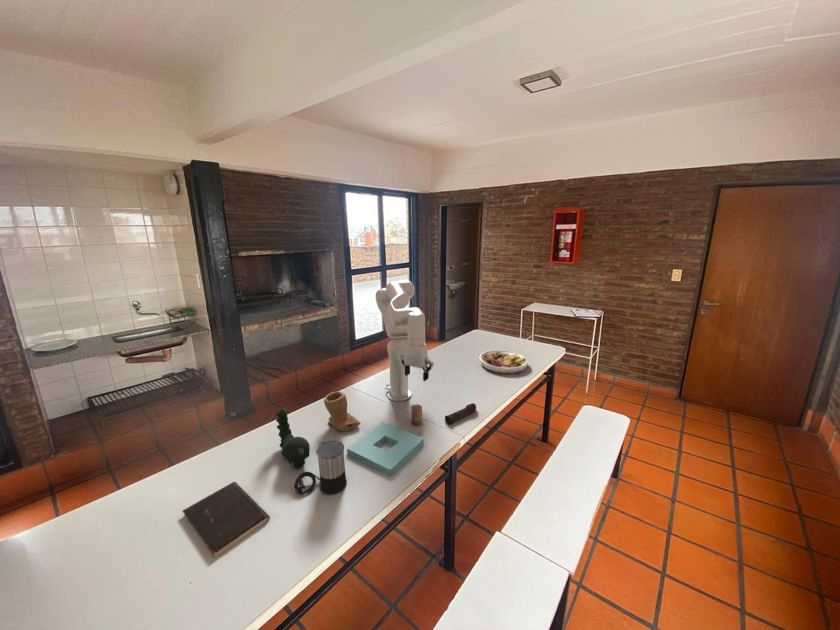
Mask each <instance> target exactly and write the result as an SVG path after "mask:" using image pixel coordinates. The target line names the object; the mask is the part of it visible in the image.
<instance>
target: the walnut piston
mask: <svg viewBox="0 0 840 630" xmlns="http://www.w3.org/2000/svg"><path fill="white" fill-rule="evenodd" d="M410 424H411V425H412V426H414V427H419V426H421V425H423V407H422V405H421V404H413V405H411V406H410Z"/></svg>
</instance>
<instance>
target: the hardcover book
mask: <svg viewBox="0 0 840 630" xmlns="http://www.w3.org/2000/svg"><path fill="white" fill-rule="evenodd" d="M182 512H183V514H184V516H185V517H186V519H187V520H188V521H189V522H190V525H191V526H192V527H193V528H194V530H195V531H196V532H197V534H198V535H199V536H200V538H201V540H202V541H203V543H204V544H205V545H206V547H207V548H208V549H209V551H210V552H211V554H212V555H213V556H214V557H215V558H216V557H218V556H219V555H221V553H224V552H225V551H226V550H227V549H229V548H230V547H231V546H233V545H234V544H236V543H238V542H239V541H240V540H242V539H243V538H245V537H246V536H247V535H249V534H250V533H252V532H253V531H254V530H256V529H258V528H259V527H260V526H261V525H263V524H264V523H266V522H267V521H270V519H271V518H270V515H269V514H268V513H267V512H266V511H265V510H264V509H263V508H262V507H261V506H260V505H259V503H257V502H256V501H255V499H253V498H252V497H251V496H250V495H249V494H248V493H247V492H246V491H245V490H244V489H243V488H242V487H241V486H240V485H239V484H238V482H236V481H232V482H231V483H229V484H227V485H226V486H224V487H222V488H220V489H219V490H216V491H215V492H213V493H211V494H209V495H208V496H206V497H205V498H204V497H203V498H202V499H201V500H199V501H197V502H195V503H194V504H192V505H190V506H188V507H186V508H185V509H183V510H182Z"/></svg>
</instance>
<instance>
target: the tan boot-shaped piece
mask: <svg viewBox="0 0 840 630" xmlns="http://www.w3.org/2000/svg"><path fill="white" fill-rule="evenodd" d="M323 402H324V407H325V408H326V410H327V412H328V413H329V415H330V416H329V417H328V422H329V423H330V424H331V425H332V426H333V427H334V428H336V429H337V430H339V431H344V432H346V431H350V430H353V429H355V428H357V427H358V426H360V425H361V422H360V421H359V420H358V419H357V418H356V417H354V416H353V415H351V414H350V413H349V412H348V400H347V396H346V394H345V393H344V392H342V391H333V392H330V393H329V394H327V395H326V396H325V397H324V399H323Z"/></svg>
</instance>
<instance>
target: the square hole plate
mask: <svg viewBox="0 0 840 630" xmlns="http://www.w3.org/2000/svg"><path fill="white" fill-rule="evenodd" d="M424 441H425V439H424V438H423V437H421V436H418V435H416V434H414V433H411V432H409V431H407V430H404V429H401V428H398V427H396V426H395V425H392V424H389V423H386V422H384V421H382V422H380V423H379V424H378V425H376V426H375V427H374V428H373V429H371V430H370V431H368V432H367V433H365V434H364V435H363V436H362V437H360V438H358V439H357V440H356V441H355V442H353V443H352V444H351V445H350V446H348V447H347V448H346V454H347V455H349V456H350V457H353V458H355V459H356V460H358V461H360V462H363V463H364V464H367V465H369V466H370V467H372V468H374V469H376V470H378V471H380V472H382V473H384V474H387V475H389V476H390V477H391V476H392V475H393V474H395V472H396V471H397V470H398V469H400V467H401V466H403V464H404V463H406V462H407V461H408V460H409V459H410V458H411V457H412V456H413V455H414V454H415V453H417V451H418V450H419V449H420V448H421V447H422V446H423V445H424V443H425V442H424ZM384 442H387V443H389V444H391V445H393V447H391V448H390V449H389V450H388V451H387V450H384V449H382V448H381V447H379V446H381V445H382V444H383V443H384Z"/></svg>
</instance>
